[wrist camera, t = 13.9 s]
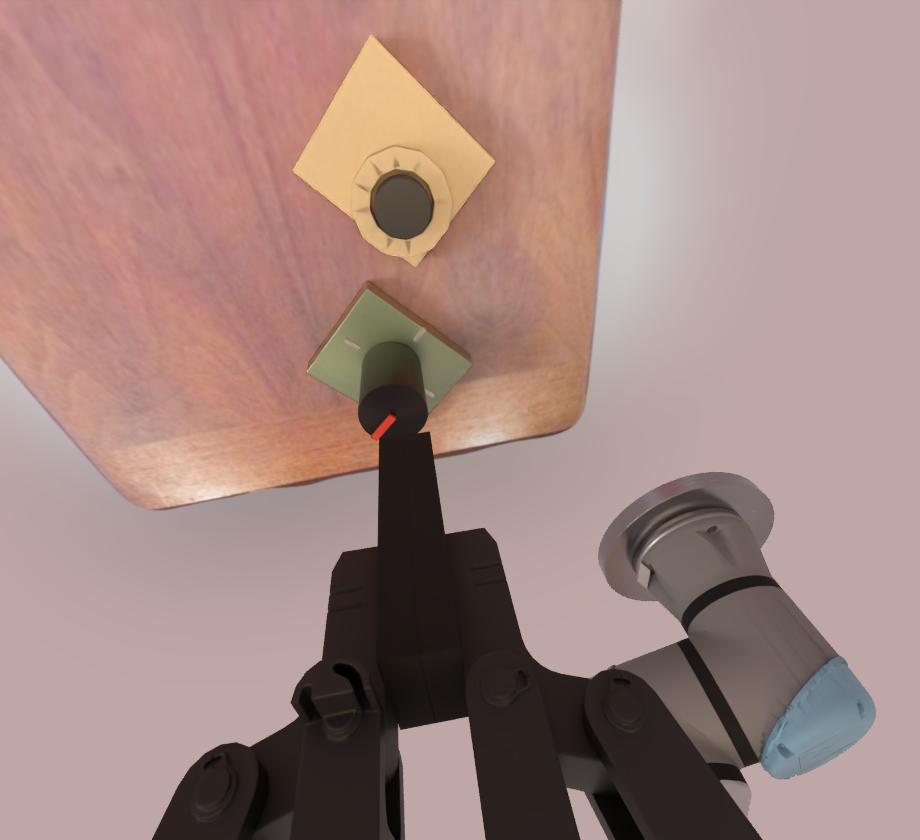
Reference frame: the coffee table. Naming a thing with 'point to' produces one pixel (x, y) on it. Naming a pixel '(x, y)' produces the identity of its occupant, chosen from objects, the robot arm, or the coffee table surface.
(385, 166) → the button box
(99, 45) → the coffee table surface
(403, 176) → the button
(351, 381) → the dial panel
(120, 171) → the coffee table surface
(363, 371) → the knob
